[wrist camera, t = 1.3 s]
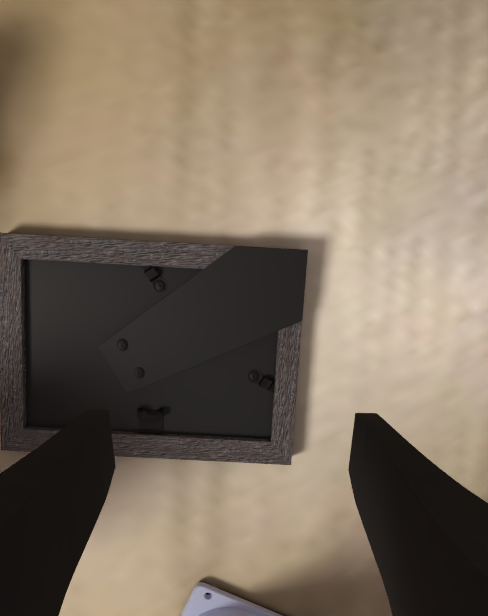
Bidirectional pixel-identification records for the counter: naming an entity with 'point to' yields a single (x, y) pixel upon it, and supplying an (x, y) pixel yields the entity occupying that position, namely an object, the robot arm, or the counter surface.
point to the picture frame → (152, 345)
